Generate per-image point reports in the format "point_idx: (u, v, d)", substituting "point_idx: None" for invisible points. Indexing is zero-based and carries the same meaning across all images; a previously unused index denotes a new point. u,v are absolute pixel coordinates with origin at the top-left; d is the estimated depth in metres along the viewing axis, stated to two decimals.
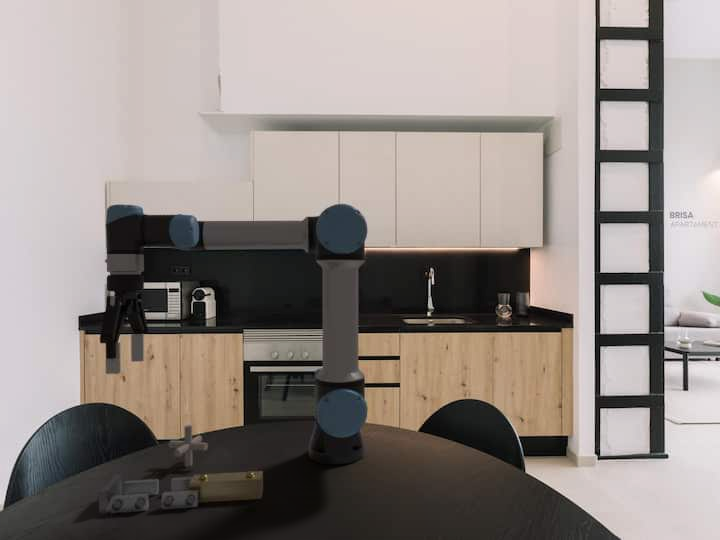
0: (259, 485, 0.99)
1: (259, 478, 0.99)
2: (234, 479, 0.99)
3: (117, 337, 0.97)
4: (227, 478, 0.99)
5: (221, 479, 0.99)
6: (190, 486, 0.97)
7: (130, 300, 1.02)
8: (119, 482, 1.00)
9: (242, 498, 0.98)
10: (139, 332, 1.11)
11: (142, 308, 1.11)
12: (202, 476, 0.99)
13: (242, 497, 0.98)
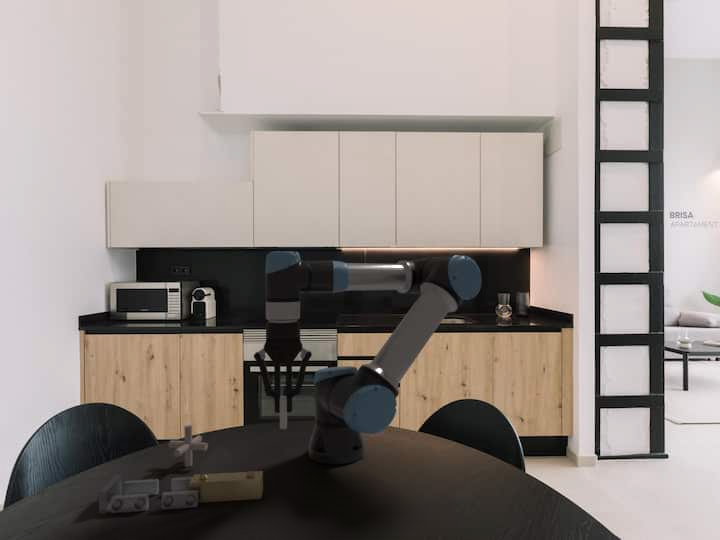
0: (259, 485, 0.99)
1: (259, 478, 0.99)
2: (234, 479, 0.99)
3: (276, 393, 1.00)
4: (227, 478, 0.99)
5: (221, 479, 0.99)
6: (190, 486, 0.97)
7: (274, 351, 1.00)
8: (119, 482, 1.00)
9: (242, 498, 0.98)
10: (286, 394, 1.01)
11: (302, 367, 1.01)
12: (202, 476, 0.99)
13: (242, 497, 0.98)
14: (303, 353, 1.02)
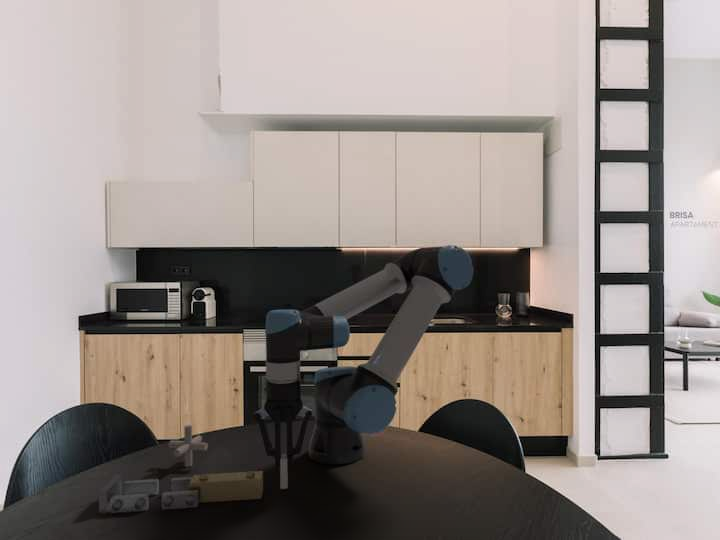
0: (259, 485, 0.99)
1: (259, 478, 0.99)
2: (235, 478, 0.99)
3: (277, 453, 1.00)
4: (227, 478, 0.99)
5: (221, 479, 0.99)
6: (190, 486, 0.97)
7: (274, 411, 1.00)
8: (119, 482, 1.00)
9: (242, 498, 0.98)
10: None
11: (302, 426, 1.01)
12: (202, 476, 0.99)
13: (242, 497, 0.98)
14: (303, 412, 1.02)
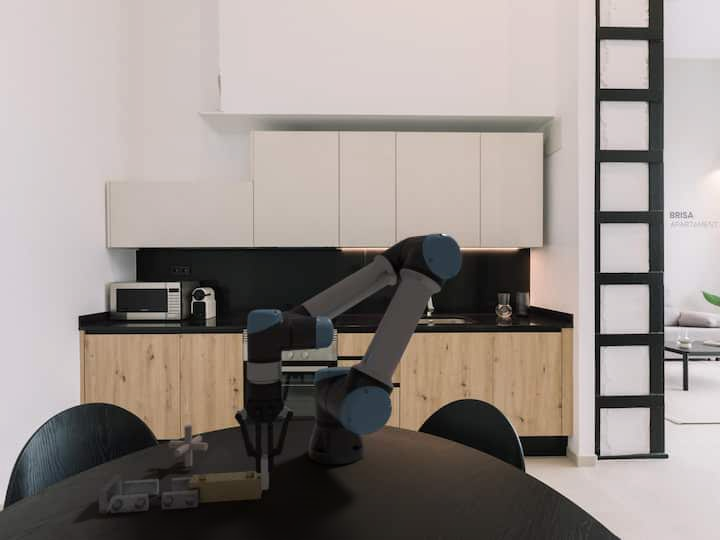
0: (259, 485, 0.99)
1: (259, 478, 0.99)
2: (234, 478, 0.99)
3: (257, 454, 0.99)
4: (226, 478, 0.99)
5: (220, 479, 0.99)
6: (189, 486, 0.97)
7: (255, 411, 0.99)
8: (119, 482, 1.00)
9: (242, 498, 0.98)
10: None
11: (283, 427, 1.00)
12: (201, 476, 0.99)
13: (242, 497, 0.98)
14: (285, 412, 1.01)
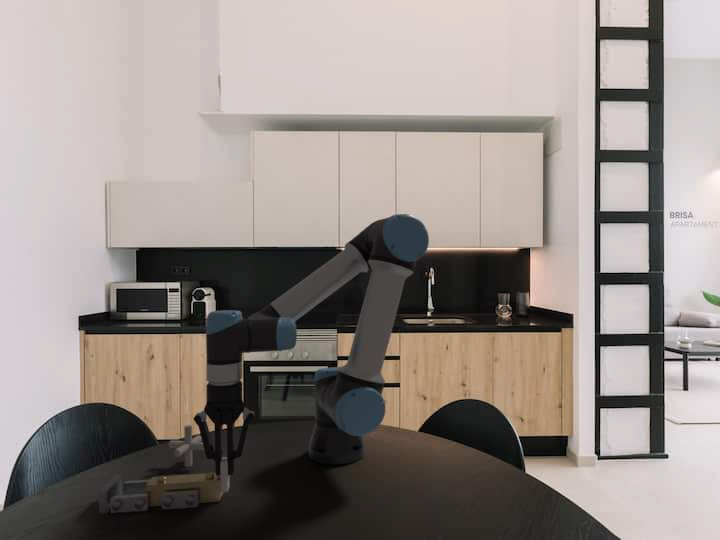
0: (218, 486, 0.98)
1: (218, 479, 0.98)
2: (193, 480, 0.98)
3: (217, 456, 0.98)
4: (186, 480, 0.98)
5: (179, 481, 0.98)
6: (147, 488, 0.96)
7: (214, 413, 0.98)
8: (119, 482, 1.00)
9: (201, 500, 0.97)
10: None
11: (243, 429, 0.99)
12: (160, 478, 0.98)
13: (201, 499, 0.97)
14: (245, 414, 1.00)
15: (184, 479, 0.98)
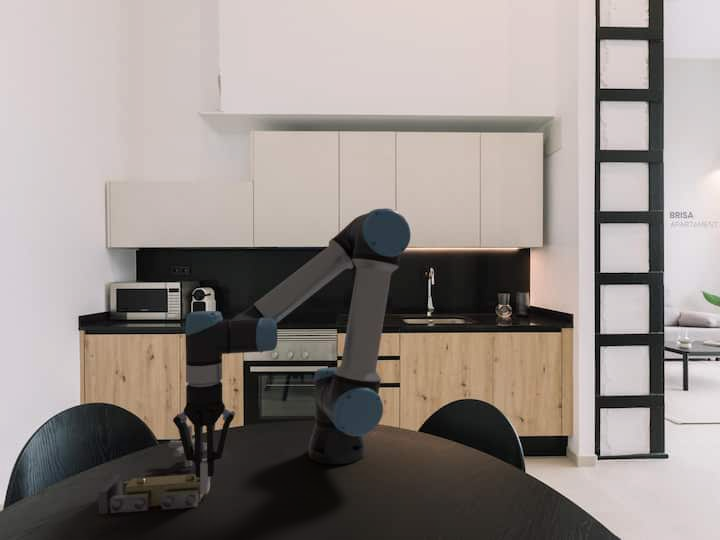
0: (198, 488, 0.97)
1: (198, 481, 0.98)
2: (173, 482, 0.97)
3: (197, 458, 0.98)
4: (165, 482, 0.97)
5: (159, 482, 0.97)
6: (126, 490, 0.95)
7: None
8: (119, 482, 1.00)
9: None
10: None
11: (223, 430, 0.99)
12: (139, 480, 0.97)
13: None
14: (225, 415, 1.00)
15: (164, 481, 0.98)
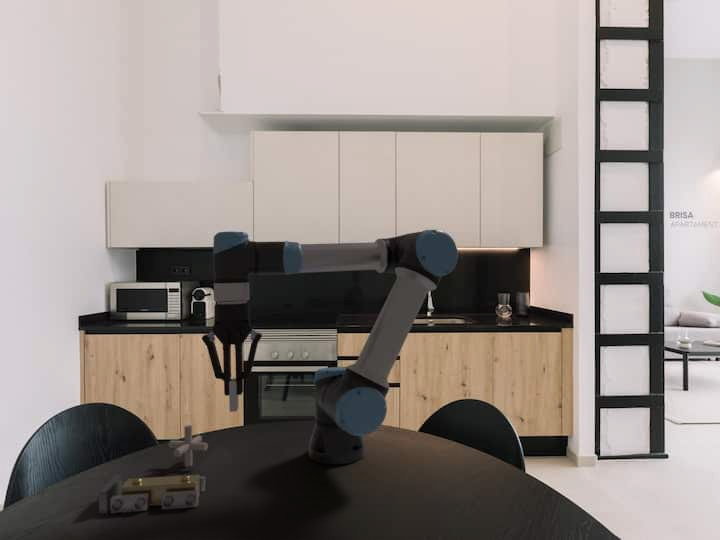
0: (194, 489, 0.97)
1: (194, 482, 0.97)
2: (169, 482, 0.97)
3: (225, 376, 0.99)
4: (161, 482, 0.97)
5: (154, 483, 0.97)
6: (122, 490, 0.95)
7: None
8: (119, 482, 1.00)
9: None
10: (236, 376, 1.00)
11: (252, 349, 1.00)
12: (135, 480, 0.97)
13: None
14: (253, 335, 1.00)
15: (160, 481, 0.98)
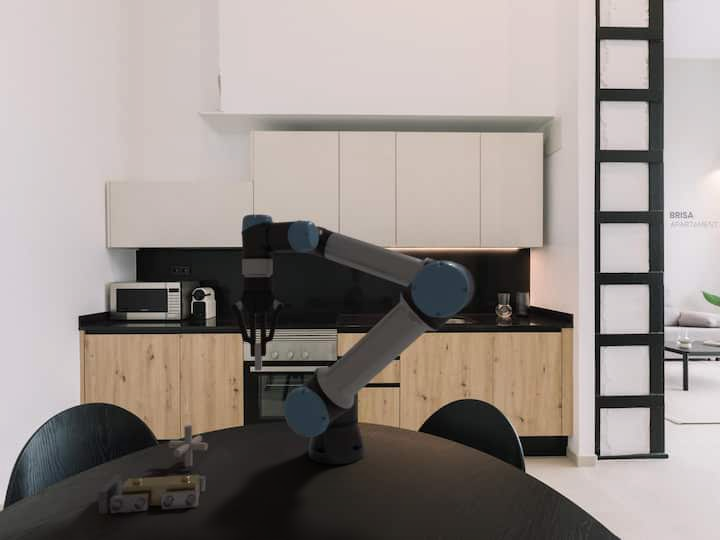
0: (194, 489, 0.97)
1: (194, 482, 0.97)
2: (169, 483, 0.97)
3: (251, 339, 1.14)
4: (161, 482, 0.97)
5: (154, 483, 0.97)
6: (122, 490, 0.95)
7: (249, 302, 1.14)
8: (119, 482, 1.00)
9: None
10: None
11: (274, 317, 1.15)
12: (135, 480, 0.97)
13: None
14: (275, 304, 1.16)
15: (160, 481, 0.98)
